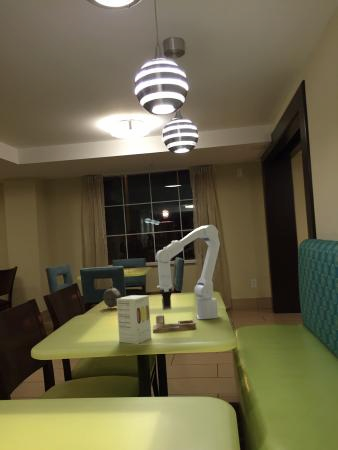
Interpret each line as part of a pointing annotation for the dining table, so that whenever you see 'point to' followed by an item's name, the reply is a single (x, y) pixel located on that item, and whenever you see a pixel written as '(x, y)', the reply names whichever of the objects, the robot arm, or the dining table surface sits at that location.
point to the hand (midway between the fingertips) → (167, 305)
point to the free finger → (166, 306)
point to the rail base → (172, 325)
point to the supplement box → (134, 319)
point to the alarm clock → (111, 296)
